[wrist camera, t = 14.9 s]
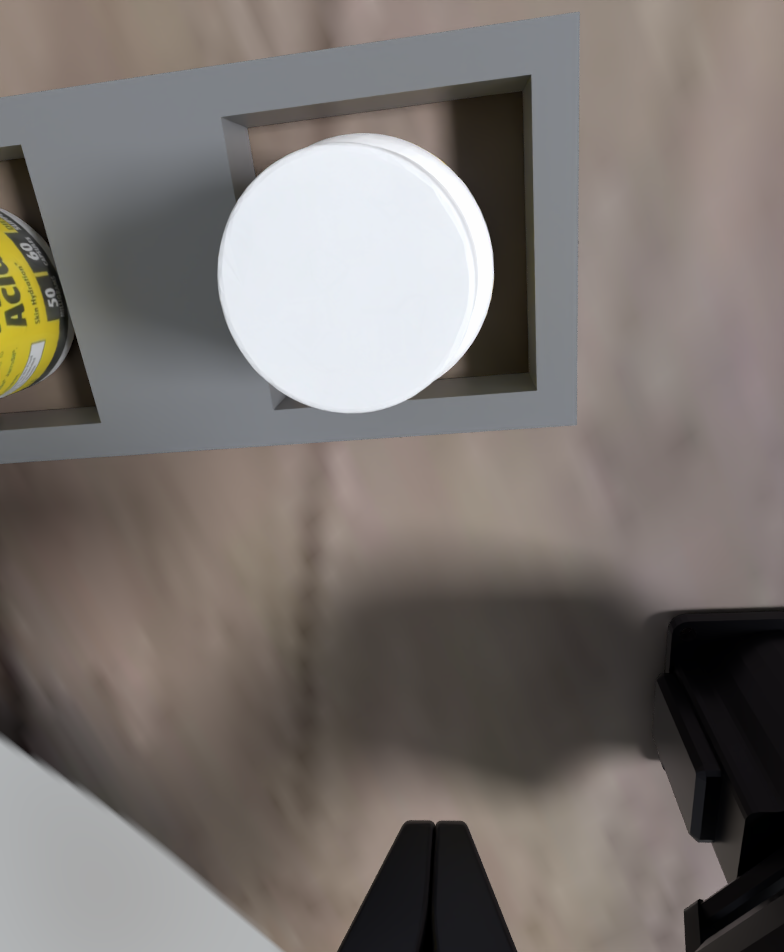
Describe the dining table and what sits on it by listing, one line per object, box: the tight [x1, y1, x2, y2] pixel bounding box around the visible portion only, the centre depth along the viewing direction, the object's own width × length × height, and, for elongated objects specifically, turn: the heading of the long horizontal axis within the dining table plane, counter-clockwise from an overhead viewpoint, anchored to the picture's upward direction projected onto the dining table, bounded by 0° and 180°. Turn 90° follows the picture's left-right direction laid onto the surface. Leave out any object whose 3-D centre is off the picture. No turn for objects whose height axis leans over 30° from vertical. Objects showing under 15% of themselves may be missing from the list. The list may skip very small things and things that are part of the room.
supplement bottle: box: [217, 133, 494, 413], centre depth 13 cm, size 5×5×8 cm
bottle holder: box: [0, 12, 580, 464], centre depth 17 cm, size 21×9×2 cm, turn 96°
